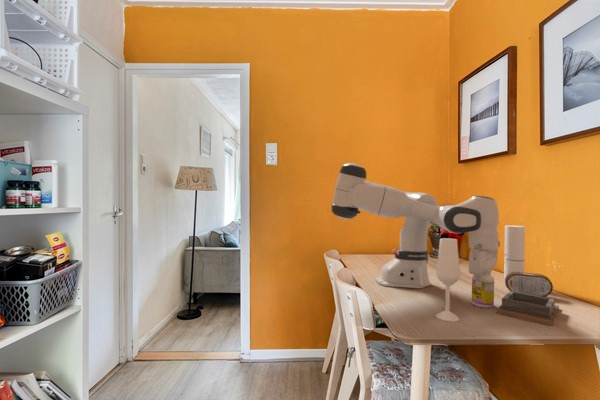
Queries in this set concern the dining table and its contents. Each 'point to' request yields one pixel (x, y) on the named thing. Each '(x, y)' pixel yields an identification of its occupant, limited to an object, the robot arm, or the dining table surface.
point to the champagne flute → (448, 272)
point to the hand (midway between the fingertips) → (482, 283)
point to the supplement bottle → (483, 291)
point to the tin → (529, 283)
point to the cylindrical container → (514, 249)
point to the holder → (529, 307)
